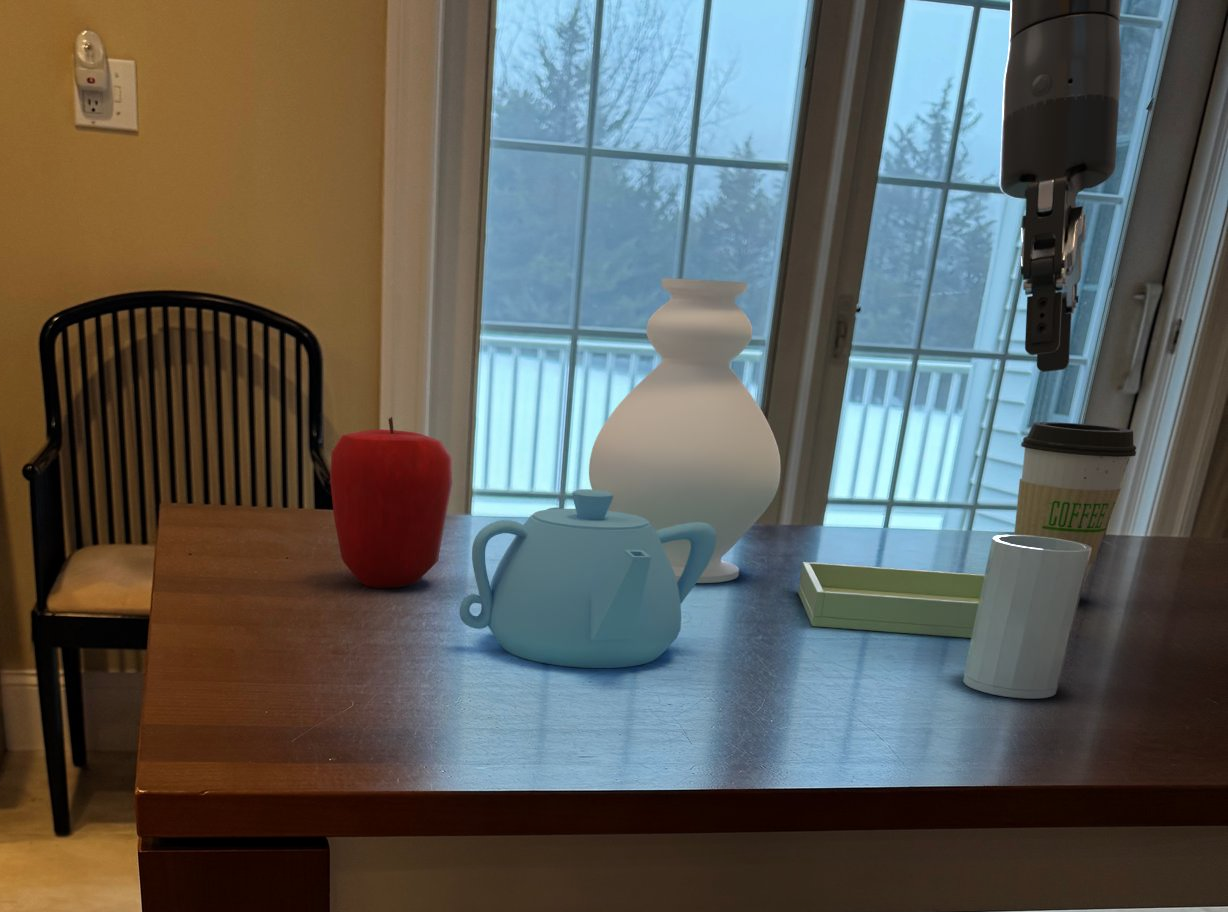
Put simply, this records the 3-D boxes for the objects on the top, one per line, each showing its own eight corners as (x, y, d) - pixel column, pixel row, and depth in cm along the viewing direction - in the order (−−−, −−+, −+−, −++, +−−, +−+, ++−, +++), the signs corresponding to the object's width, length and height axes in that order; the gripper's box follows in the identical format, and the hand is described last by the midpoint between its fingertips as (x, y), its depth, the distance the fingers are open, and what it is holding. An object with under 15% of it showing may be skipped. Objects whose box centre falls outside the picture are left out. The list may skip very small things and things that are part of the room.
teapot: (718, 641, 109) (737, 489, 103) (633, 688, 95) (650, 516, 90) (541, 613, 115) (550, 468, 110) (437, 653, 101) (442, 490, 96)
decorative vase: (796, 589, 130) (841, 287, 118) (614, 588, 125) (643, 276, 114) (723, 554, 145) (757, 284, 133) (559, 553, 141) (579, 274, 129)
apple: (459, 595, 120) (467, 424, 114) (341, 595, 117) (342, 421, 111) (433, 571, 129) (438, 412, 123) (322, 570, 126) (322, 408, 120)
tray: (989, 607, 127) (996, 575, 125) (1024, 642, 114) (1032, 607, 113) (797, 593, 128) (802, 561, 127) (811, 626, 116) (817, 591, 114)
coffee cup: (1088, 613, 126) (1131, 435, 119) (978, 597, 131) (1014, 424, 124) (1107, 597, 134) (1149, 429, 127) (1003, 582, 138) (1038, 419, 131)
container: (1044, 679, 103) (1077, 538, 98) (1066, 702, 97) (1102, 554, 93) (955, 672, 104) (984, 532, 99) (972, 694, 98) (1004, 547, 93)
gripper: (1114, 63, 89) (1098, 340, 93) (1123, 127, 101) (1109, 368, 105) (989, 89, 92) (979, 355, 97) (1013, 147, 105) (1003, 381, 109)
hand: (1047, 362), depth 101 cm, fingers open, 8 cm apart
